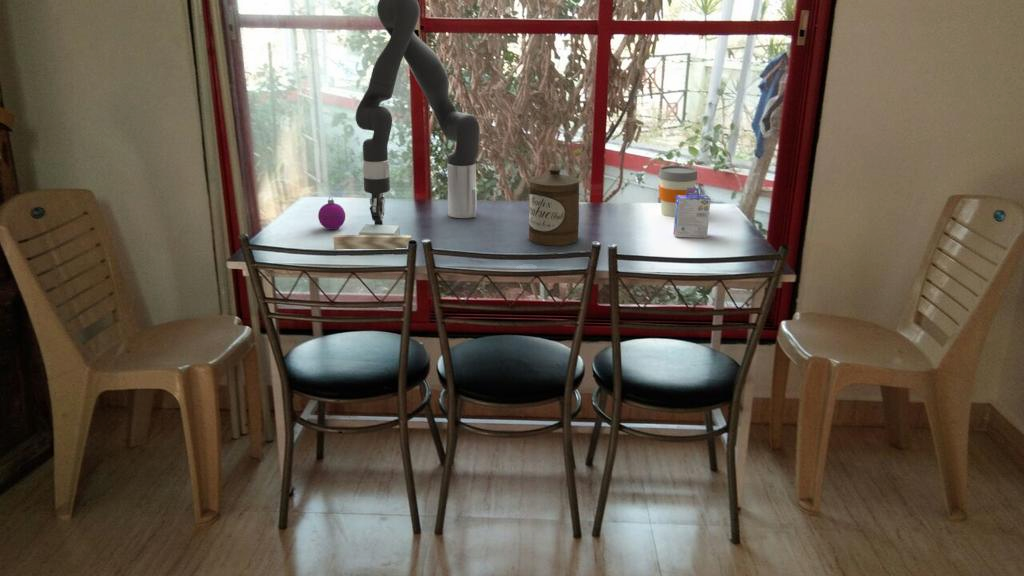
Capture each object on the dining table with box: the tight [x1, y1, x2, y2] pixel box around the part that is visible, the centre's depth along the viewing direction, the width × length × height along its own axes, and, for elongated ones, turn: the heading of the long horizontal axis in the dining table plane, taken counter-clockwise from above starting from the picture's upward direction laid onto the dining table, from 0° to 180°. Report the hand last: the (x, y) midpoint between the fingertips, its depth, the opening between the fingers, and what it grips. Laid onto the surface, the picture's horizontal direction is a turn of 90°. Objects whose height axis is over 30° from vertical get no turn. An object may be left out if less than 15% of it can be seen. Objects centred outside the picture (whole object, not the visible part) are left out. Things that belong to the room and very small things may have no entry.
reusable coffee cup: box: [658, 165, 698, 218], centre depth 277 cm, size 13×13×15 cm
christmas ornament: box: [317, 197, 346, 230], centre depth 256 cm, size 8×8×10 cm
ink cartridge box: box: [673, 187, 711, 239], centre depth 252 cm, size 10×6×14 cm, turn 90°
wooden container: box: [528, 165, 580, 246], centre depth 247 cm, size 15×15×22 cm
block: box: [358, 223, 401, 235], centre depth 243 cm, size 10×8×5 cm
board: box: [332, 234, 413, 250], centre depth 238 cm, size 22×2×4 cm, turn 90°
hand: (379, 232), depth 249 cm, fingers closed
